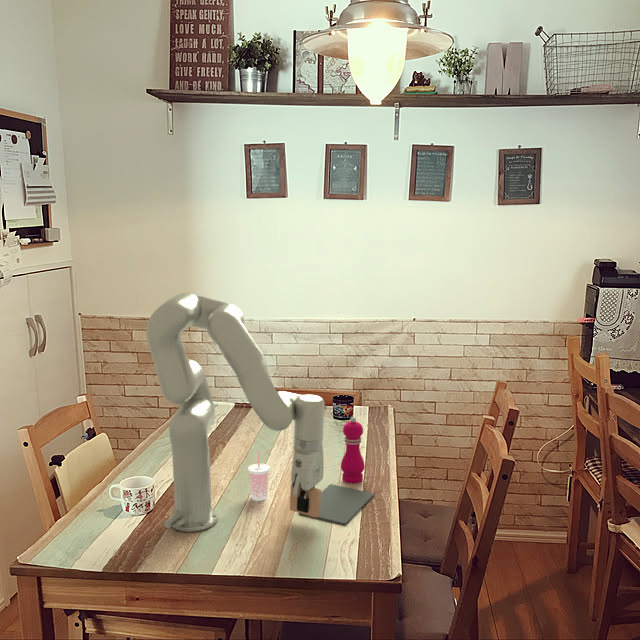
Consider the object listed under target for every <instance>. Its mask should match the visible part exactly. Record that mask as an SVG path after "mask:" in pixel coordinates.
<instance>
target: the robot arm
mask: <svg viewBox="0 0 640 640" xmlns="http://www.w3.org/2000/svg"><path fill="white" fill-rule="evenodd" d="M244 323H245V317H244V314H243V312H242V310H241V309H240V308H239V307H238V306H236V305H235V304H232V303H230V302H226V301H222V300H218V299H214V298H210V297H207V296H203V295H199V294H195V293H190V292H183V293H179V294H177V295H175V296H174V297H173V296H172V297H171V298H169V299H168V300H166V301H164V302H163V303H162V304H161V305H159V307H157V308H156V309H155V310H154V311H153V312H152V314H151V315H150V317H149V319H148V321H147V323H146V330H145V335H146V341H147V345H148V348H149V351H150V355H151V358H152V360H153V361H152V362H153V365H154V368H155V373H156V375H157V380H158V381H159V382H158V383H159V386H160V389H161V393H162V395H163V397H164V398H165V399H166V400H167V401H168V402H169V403H172V404H174V405H177V406H178V409H177V410H176V411H175V413H174V414H173V416H172V418H171V420H170V422H169V423H170V424H169V429H168V432H169V440H170V446H171V453H172V455H171V456H172V473H173V474H172V476H173V494H174V495H173V498H174V502H173V503H174V509H173V510H172V514H171V515H170V516H169V518H168V519H166V520H165V521H163V526H164V527H165V528H166V529H170V528H172V527H173V529H174V530H177V531H179V530H180V531H179V532H184V531H185V532H187V533H190V532H191V533H193V532H194V533H195V532H201V531H204V530H206V529H208V528H209V529H210V528H211V527H212V526H214V525H215V524H216V523H217V521H218V513H217V511H216V510H215V509H213V508H212V488H211V487H212V486H211V485H212V484H211V482H212V481H211V480H212V479H211V462H210V460H211V458H210V456H211V455H210V447H209V439H208V438H209V436H208V434H209V433H208V432H209V429H210V428H211V425H212V424H213V423H214V420H215V415H216V409H215V405H214V402H213V398H212V397H213V396H212V395H211V391H210V387H209V384H208V380H207V377H206V374H205V371H204V369H203V368H202V366H201V365H200V364H199V363H198V362H197V361H196V360H193V359H191V358H189V357H188V353H187V349H186V347H185V344H184V342H183V340H182V337H181V335H182V333H183V332H184V331H186V330H187V329H188V328H190V327H191V326H192V327H196V328H200V329H204V330H206V332H207V334H208V336H209V337H210V339H211V340H212V342H213V343H214V344H215V346H216V348H217V349H218V350H219V352H220V353H221V354H222V356H223V357H224V359H225V360H226V362H227V364H228V365H229V366H230V368H231V369H232V370H233V372H234V374H235V377H236V379H237V381H238V383H239V385H240V387H241V389H242V391H243V393H244V396H245V398H246V399H247V401H248V403H249V405H250V406H251V408H252V409H253V411H254V412H255V414H256V415H257V416H258V418H259V420H260V422H262V423H263V425H265V427H266V428H268V429H270V430H272V431H275V432H280V431H284V430H286V429H287V428H289V427H290V426H291V424H292V421H293V422H294V426H293V447H292V448H293V450H294V452H293V457H292V466H291V475H290V479H291V480H290V483H291V484H290V486H291V485H292V487H294V490H293V494H294V495H296V496H297V510H298V511H301V512H305V513H307V512H308V510H309V498H308V490H310V489H311V488H316V486H317V485H318V484H319V483H320V482H321V481H322V480H323V478H324V448H323V446H324V445H323V443H324V424H325V422H324V421H325V408H326V406H325V400H324V398H323V397H321V396H319V395H316V394H298V393H293V392H290V391H284V390H282V391H281V390H278V391H277V389H276V387H275V386H274V383H273V382H272V380H271V377H270V375H269V372H268V367H267V363H266V362H267V361H266V358H265V355H264V354H263V351H262V350H261V349H260V347H259V346H258V345H257V343H256V342H255V340H254V339H253V337H252V336H251V335H250V332H249V331H248V330H247V329H246V327H245V325H244ZM301 489H302V490H304V492H303V491H301Z"/></svg>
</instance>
